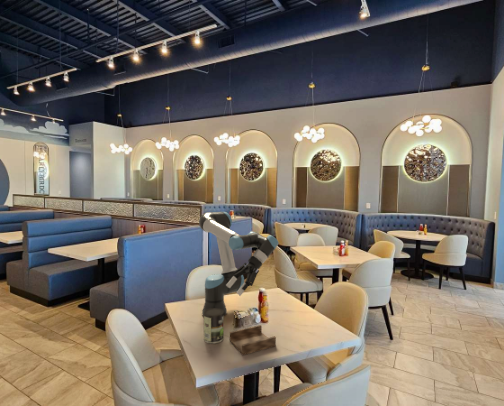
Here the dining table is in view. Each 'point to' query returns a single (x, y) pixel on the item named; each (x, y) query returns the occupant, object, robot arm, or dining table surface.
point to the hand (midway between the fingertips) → (232, 290)
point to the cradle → (251, 340)
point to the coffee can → (213, 325)
